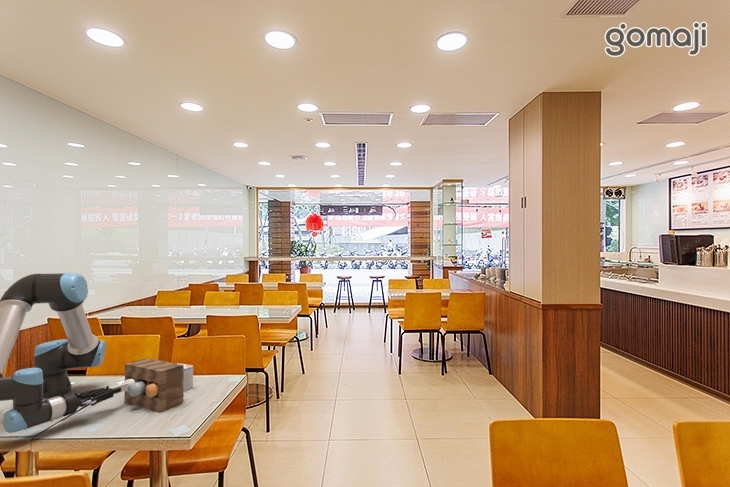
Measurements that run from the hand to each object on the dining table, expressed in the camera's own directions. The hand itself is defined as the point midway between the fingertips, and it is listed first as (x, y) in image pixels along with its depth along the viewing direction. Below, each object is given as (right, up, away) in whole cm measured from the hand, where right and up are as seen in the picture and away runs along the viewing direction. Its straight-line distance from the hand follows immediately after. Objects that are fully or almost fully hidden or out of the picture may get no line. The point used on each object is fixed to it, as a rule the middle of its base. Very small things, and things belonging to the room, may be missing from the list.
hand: (126, 386), depth 160 cm
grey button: (+7, -2, -1) cm, 8 cm away
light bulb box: (+12, -9, +20) cm, 25 cm away
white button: (+2, -3, +4) cm, 5 cm away
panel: (+9, -8, +3) cm, 13 cm away
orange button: (+14, -2, -2) cm, 15 cm away
